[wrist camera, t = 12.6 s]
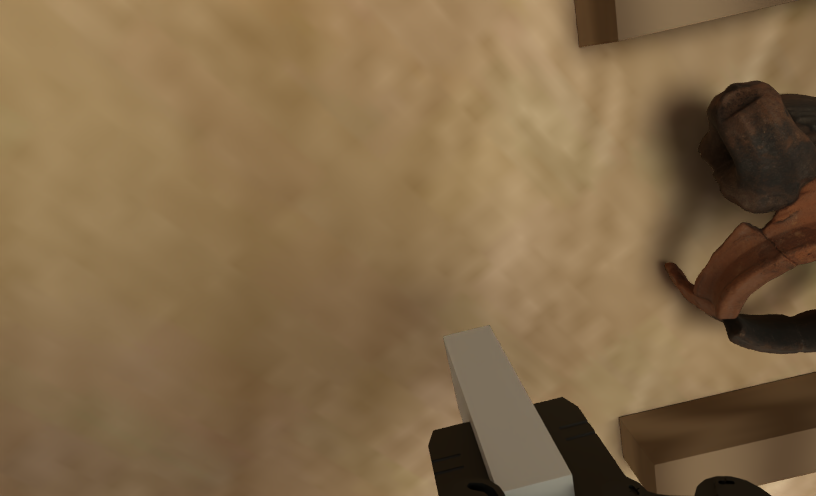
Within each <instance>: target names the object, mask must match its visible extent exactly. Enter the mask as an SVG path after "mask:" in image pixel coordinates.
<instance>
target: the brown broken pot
mask: <svg viewBox="0 0 816 496" xmlns="http://www.w3.org/2000/svg"><path fill="white" fill-rule="evenodd" d="M707 116H708V121H709V132H708V133H707V134H706V135H705V136H704V138H703V139H702V141H701V143H700V145H699V147H698V152H699V153H701V157H702V158H703V159H704V160H705V161H706V162H707V163H708V164H709V165H710V167H712V168H713V170H714V172H713V176H714V178H715V180H716V181H717V183H718V184H719V186H720V191H721V193H722V194H723V196H724V197H725V198H727V199H728V200H729V201H731V202H733V203H735V204H737V205H738V206H740V207H741V208H742V209H744V210H746V211H749V212H752V213H767V212H769V211H773V210H775V211H776V212H775V215H774V217H773V219H772V220H771V221H769V222H768V223H767V224H766V225H765V227H764V228H762V229H759V228H757V227H756V226H752V225H751V224H750V223H747V222H743V223H741V224H740V225H738V226H737V227H736V228H735V230H734V231H733V233H732V234H731V235H730V236H729V237H728V238H727V239H726V240H725V242H724V243H723V244H722V245H721V246H720V247H719V248H718V249H717V250H716V251H715V252H714V253H713V254H712V256H711V258H710V260H709V262H708V264H707V265H706V267H705V268H704V269H703V270H702V271H701V273H700V274H699V275H698V277H697V279H696V281H695V285H693V284H692V283H690V282H689V281H688V280H687V278H686V276H685V275H684V273H683V272H682V270H681V269H679V267H678V266H677V265H676V264H674V263H671V262H668V263H665V269H666V271H667V272H668V273H669V276H670V278H671V280H672V281H673V283H674V284H675V285H676V287H677V288H678V289H679V291H680V292H681V294H682V295H683V296H684V297H685V298H686V299H687V300H688V301H689V302H690V303H692V304H694V305H695V306H696V307H697V308H699V309H701V310H702V311H704V312H705V313H706V314H708V315H709V316H711V317H713V318H715V319H717V320H719V321H721V322H723V323H724V325H725V327H726V331H727V335H728V338H729V340H730V341H731V342H733V343H734V344H737V345H739V346H741V347H744V348H747V349H752V350H756V351H759V352H767V353H775V354H788V353H798V352H804V353H807V352H816V309H814V310H809V311H805V312H802V313H799V314H797V315H795V316H793V317H788V316H785V315H781V314H780V315H779V314H773V315H772V314H768V315H745V314H739V313H740V311H741V309H742V306H743V305H744V303H745V302H746V300H747V298H748V297H749V296H750V295H751V294H752V293H753V292H755V291H756V290H757V289H759V288H760V287H761V286H763V285H764V284H766V283H767V282H768V281H770V280H772V279H774V278H776V277H778V276H780V275H782V274H783V273H785V272H787V271H788V270H790V269H793V268H794V267H796V266H797V265H800V264H806V263H809V262H813V261H816V146H815V144H816V97H811V96H806V95H799V94H782V95H779V93H778V92H777V91H776V90H775V89H774V88H772V87H771V86H770V85H769V84H767V83H764V82H761V81H751V82H746V83H734V84H731V85H730V86H728V87H727V88H726V90H725V91H723V92H722V93H720V94H718V95H717V96H715V97H714V98H713V100H712V102H711V104H710V105H709V107H708V109H707Z"/></svg>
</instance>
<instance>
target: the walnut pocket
mask: <svg viewBox="0 0 816 496" xmlns="http://www.w3.org/2000/svg"><path fill="white" fill-rule="evenodd" d="M574 1H575V10H576V19H577V29H578V38H579V47H584V46H591V45H597V44H604V43H610V42H617V41H622V40H626V39H630V38H635V37H639V36H644V35H648V34H652V33H657V32H661V31H665V30H670V29H674V28H679V27H683V26H687V25H692V24H696V23H700V22H705V21H709V20H714V19H718V18H722V17H727V16H731V15H735V14H740V13H744V12H749V11H753V10H757V9H762V8H766V7H771V6H775V5H779V4H784V3H788V2H792V1H797V0H574ZM619 421H620V431H621V440H622V450H623V457H624V459H625V460H626V462H627V463H628V465H629V466H630V468H631V469H632V471H633V472H634V474H635V475H636V477H637V478H638V480H639V481H640V483H641V484H642V486H643V487H644V488H645V489H646V490H647V491H649V492H653V493H656V494H662V495H677V496H694V495H695V491H696V488H697V486H698V485H699V484H700V483H701V482H702V481H703V480H705V479H708V478H711V477H715V476H732V477H736V478H740V479H744V480H747V481H749V482H750V483H752V484H754V485H756V486H758V485H763V484H767V483H771V482H776V481H780V480H784V479H789V478H793V477H797V476H802V475H806V474H810V473H815V472H816V372H814V373H810V374H806V375H801V376H797V377H793V378H788V379H784V380H780V381H775V382H771V383H767V384H762V385H758V386H754V387H749V388H745V389H741V390H736V391H732V392H728V393H723V394H719V395H715V396H710V397H706V398H702V399H697V400H693V401H689V402H684V403H680V404H676V405H671V406H667V407H663V408H658V409H654V410H650V411H645V412H641V413H637V414H632V415H628V416H624V417H619Z"/></svg>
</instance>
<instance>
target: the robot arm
mask: <svg viewBox="0 0 816 496" xmlns="http://www.w3.org/2000/svg"><path fill="white" fill-rule="evenodd" d="M443 339H444V343H445V348H446V353H447V357H448V362H449V366H450V371H451V376H452V380H453V385H454V389H455V394H456V399H457V403H458V408H459V411H460V414H461V417H462V420H463V423H462V424H458V425H454V426H450V427H446V428H442V429H438V430H434V431H433V433H432V436H431V439H430V442H429V445H428V447H429V452H430V456H431V461H432V466H433V471H434V475H435V480H436V485H437V490H438V495H439V496H677V495H662V494H656V493H653V492H649V491H647V490H646V489H645V488H644V487H643V486H642V485H641V484H640V483H638V482H636V481H634V480H632V479H630V478H628V477H626V476H625V475H624V473H623V472H622V470H621V469H620V468H619V466H618V465H617V463H616V462H615V460H614V459H613V457H612V456H611V454H610V453H609V451H608V450H607V449H606V447H605V446H604V444H603V443H602V441H601V440H600V438H599V437H598V435H597V434H595V431H594V429H593V428H592V427H591V425H590V424H589V423H588V422H587V419H586V418H585V416H584V415H583V413H582V412H581V410H580V409H579V408H578V406H576V405H574V404H573V403H571V402H570V401H568V400H566V399H565V398H563V397H560V398H556V399H552V400H548V401H544V402H540V403H536V404H533V403H532V401H531V399H530V398H529V396H528V394H527V392H526V390H525V389H524V387H523V385H522V383H521V381H520V380H519V378H518V376H517V374H516V372H515V370H514V369H513V367H512V365H511V363H510V361H509V360H508V358H507V356H506V354H505V352H504V351H503V349H502V347H501V345H500V343H499V342H498V340H497V338H496V336H495V334H494V333H493V331H492V329H491V327H490V325H487V326H483V327H479V328H475V329H471V330H467V331H462V332H458V333H454V334H450V335H446V336H443ZM694 496H771V495H770V494H768V493H767V492H766V491H764V490H763V489H761V488H760V487H758V486H756V485H754V484H752V483H750V482H749V481H747V480H744V479H740V478H736V477H732V476H715V477H711V478H708V479H705V480H703V481H702V482H701V483H700V484H699V485H698V486H697V488H696V491H695V495H694Z"/></svg>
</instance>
